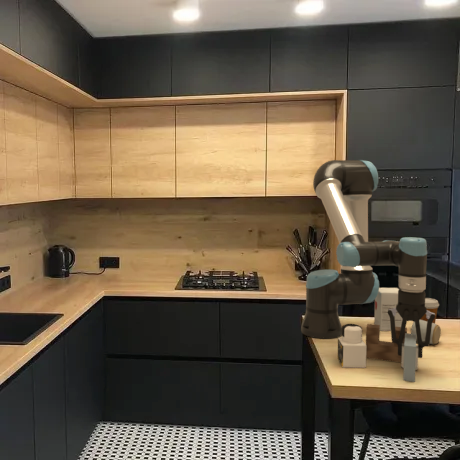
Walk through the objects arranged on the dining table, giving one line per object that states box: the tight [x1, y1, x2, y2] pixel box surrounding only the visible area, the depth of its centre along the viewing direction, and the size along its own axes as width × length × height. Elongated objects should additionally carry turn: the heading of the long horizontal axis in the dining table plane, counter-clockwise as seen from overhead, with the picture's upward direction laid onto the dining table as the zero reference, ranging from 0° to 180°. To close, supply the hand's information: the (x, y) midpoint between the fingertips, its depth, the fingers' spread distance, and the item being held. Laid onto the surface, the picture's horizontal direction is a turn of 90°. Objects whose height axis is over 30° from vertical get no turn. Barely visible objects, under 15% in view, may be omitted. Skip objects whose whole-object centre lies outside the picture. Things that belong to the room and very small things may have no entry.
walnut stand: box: [365, 323, 408, 363], centre depth 142 cm, size 12×4×10 cm, turn 68°
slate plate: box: [402, 332, 417, 383], centre depth 130 cm, size 3×12×10 cm, turn 158°
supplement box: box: [373, 287, 402, 332], centre depth 175 cm, size 9×9×15 cm
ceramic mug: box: [410, 320, 442, 345], centre depth 159 cm, size 11×8×8 cm
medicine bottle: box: [337, 323, 367, 369], centre depth 138 cm, size 7×7×12 cm
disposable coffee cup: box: [420, 297, 440, 324], centre depth 170 cm, size 10×10×12 cm
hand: (409, 366), depth 135 cm, fingers open, 3 cm apart
